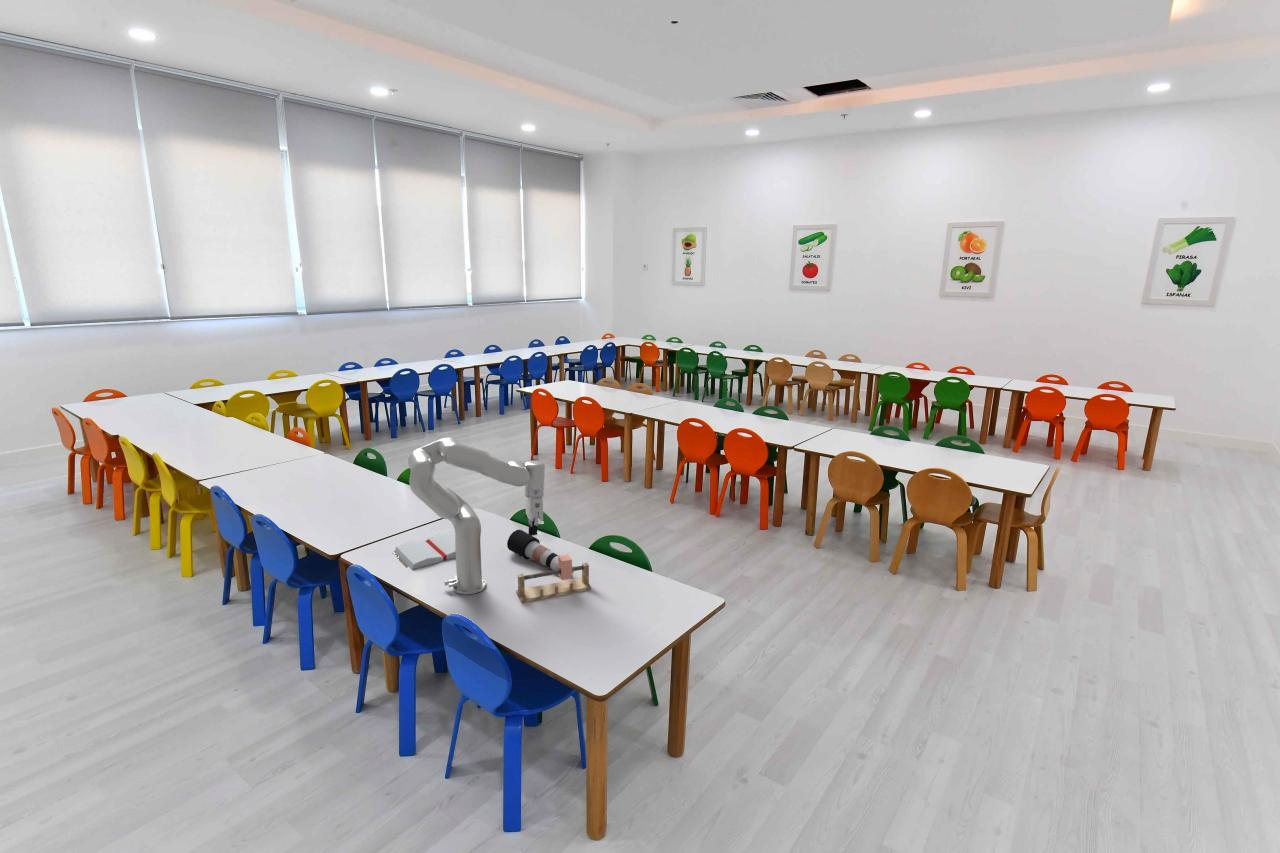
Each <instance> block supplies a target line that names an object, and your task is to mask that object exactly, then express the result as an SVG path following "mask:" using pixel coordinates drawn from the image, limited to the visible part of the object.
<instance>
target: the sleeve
mask: <svg viewBox="0 0 1280 853" xmlns="http://www.w3.org/2000/svg"><path fill="white" fill-rule="evenodd" d="M572 566H573V559H572V558H571V556H570V555H569V553H566V554H561V555H558V570H559V569H561V574H557V575H558V576H559V578H560V580H561V581H567V580H572V579H573V573H572Z"/></svg>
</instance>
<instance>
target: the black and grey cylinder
mask: <svg viewBox="0 0 1280 853" xmlns="http://www.w3.org/2000/svg"><path fill="white" fill-rule="evenodd" d="M506 544H507V545H506V547H507V549H508V550H509V551H511V552H512V553H514V554H516V555H517V556H519V557H521V558H522V559H524V560H527V561H529V560H533V561H535V563H538V564H540V565H543V566H545V567H546V568H549V569H550V570H552V571H554V570H558V556H559V555H558V553H557V554H556V553H555V552H553V551H552V550H551V549H549V548H547V547H545V545H542V544H541V542H540V540H539V539H538V538H537V537H535V536H534V535H532V536H530V535H529V532H526V531H524V530H523V529H515V531H512V533H511V534H510V535H509V536H508V539H507V543H506Z"/></svg>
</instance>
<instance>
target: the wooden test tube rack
mask: <svg viewBox="0 0 1280 853" xmlns="http://www.w3.org/2000/svg"><path fill="white" fill-rule="evenodd" d="M577 571H581V577H580V578H573V579H567V580H562V581H559V582H553V583H548V584H542V585H535V586H532V587H531V586H530V587H526V586H525V580H526V581H527V580H532V579H536V578H542V577H547V576H554V575H558V574H561V569H559V570H548V571H542V572H537V573H532V574H527V575H525V574H523V573H518V574H517V589H516V591H515V592H516V595H517V596H518V599H519V601H520V603H527V602H533V601H537V600H541V599H548V598H549V599H550V598H553V597H559V596H563V595H569V594H574V593H579V592H584V591H591V590H592V586H591V584H590V578H589V577H590V565H589V563H588V562H582V563H581V565H577V566H573V565H572V574H574V572H577Z"/></svg>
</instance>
